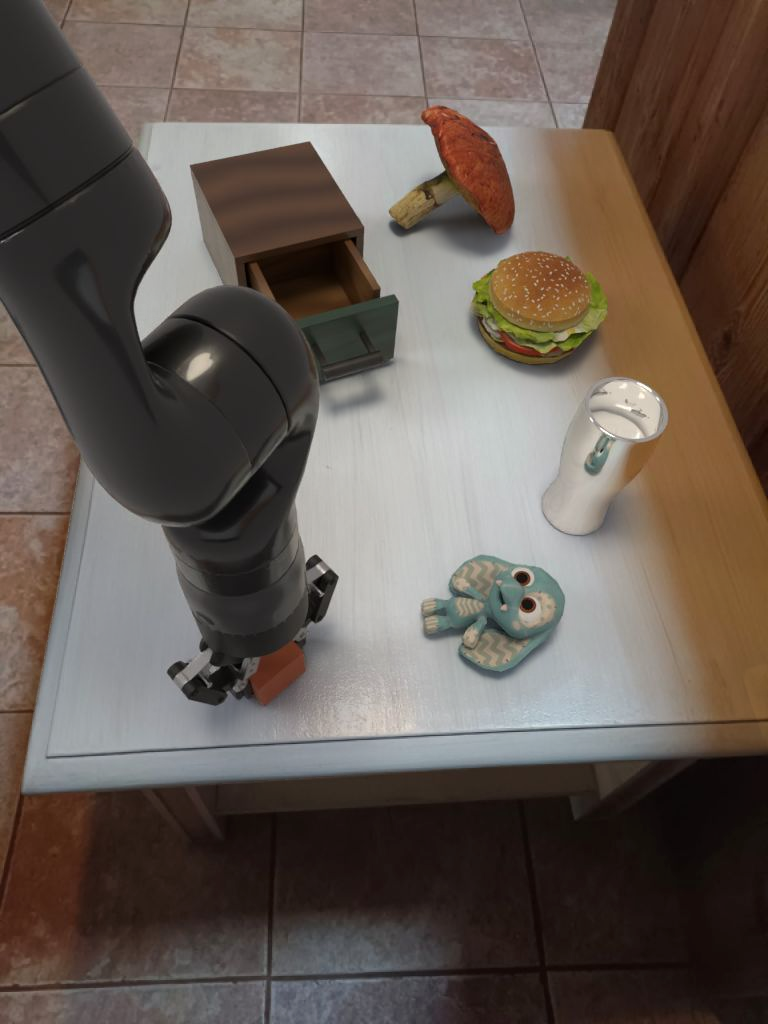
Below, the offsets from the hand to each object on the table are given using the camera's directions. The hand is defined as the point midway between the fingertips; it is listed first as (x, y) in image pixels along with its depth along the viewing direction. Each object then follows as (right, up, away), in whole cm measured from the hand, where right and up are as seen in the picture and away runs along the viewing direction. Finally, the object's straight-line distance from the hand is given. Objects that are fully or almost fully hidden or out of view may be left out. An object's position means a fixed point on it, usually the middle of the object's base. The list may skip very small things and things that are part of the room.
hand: (267, 668), depth 59 cm
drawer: (+3, +31, +18) cm, 36 cm away
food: (+26, +33, +22) cm, 48 cm away
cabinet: (-2, +41, +25) cm, 48 cm away
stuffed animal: (+19, +3, +4) cm, 19 cm away
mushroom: (+17, +53, +27) cm, 62 cm away
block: (0, 0, 0) cm, 0 cm away
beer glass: (+28, +13, +10) cm, 32 cm away
